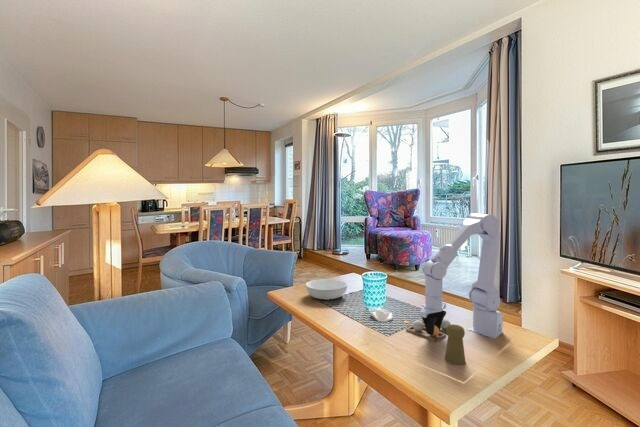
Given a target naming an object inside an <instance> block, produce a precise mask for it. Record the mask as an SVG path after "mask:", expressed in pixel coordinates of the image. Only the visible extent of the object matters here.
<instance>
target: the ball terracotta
mask: <svg viewBox="0 0 640 427" xmlns="http://www.w3.org/2000/svg"><path fill="white" fill-rule="evenodd" d="M438 334H439V329H438V327H437V326H434V333H433V335H430V334H429V335H430V336H432V337H436V336H437V335H438Z"/></svg>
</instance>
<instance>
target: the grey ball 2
mask: <svg viewBox="0 0 640 427" xmlns="http://www.w3.org/2000/svg"><path fill="white" fill-rule="evenodd" d="M449 325H452V324H451V321H449V319H446V318H443V321H442V324H441V329H443V330H446V329H447V327H448V326H449Z"/></svg>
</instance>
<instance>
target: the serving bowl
mask: <svg viewBox="0 0 640 427" xmlns="http://www.w3.org/2000/svg"><path fill="white" fill-rule="evenodd" d="M305 287H306V291H307V293H308V295H310V296H311V297H312V298H315V299H319V300H322V299H323V300H325V301H329V300H330V299H331V300H333V299H338V298H340V297H342V296H343V295H344V294H346V292H347V289H348V283H347V282H346V281H345V280H344V281H343V280H340V279H339V280H338V279H330V278H329V279H328V278H324V279H323V278H321V279H313V280H310V281H308V282H306V284H305Z"/></svg>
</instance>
